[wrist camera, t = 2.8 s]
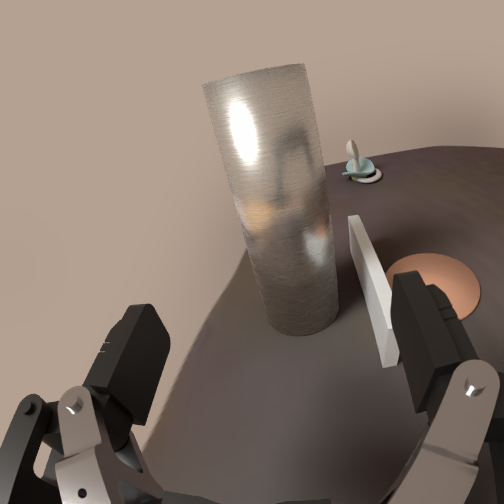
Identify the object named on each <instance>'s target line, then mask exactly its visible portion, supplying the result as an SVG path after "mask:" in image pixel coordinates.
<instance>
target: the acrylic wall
mask: <svg viewBox="0 0 504 504" xmlns="http://www.w3.org/2000/svg"><path fill="white" fill-rule="evenodd" d="M348 223H349V236H350V250H351V255H352V258H353V261H354V264H355V267H356V270H357V274H358V277H359V280H360V284H361V287H362V290H363V294H364V297H365V301H366V304H367V308H368V311H369V315H370V319H371V322H372V326H373V330H374V334H375V338H376V342H377V346H378V350H379V354H380V358H381V362H382V367H383V368H386V367H391V366H396V365H397V362H398V358H399V353H400V352H399V348H398V345H397V342H396V338H395V335H394V332H393V329H392V324H391V317H390V308H391V297H392V291H391V289H390V286H389V284H388V281H387V279H386V276H385V274H384V272H383V269H382V267H381V264H380V262H379V260H378V257H377V255H376V253H375V250H374V248H373V246H372V244H371V241H370V239H369V237H368V235H367V233H366V230H365V228H364V226H363V224H362V222H361V220H360V218H359V216H358V215H354V216H348Z"/></svg>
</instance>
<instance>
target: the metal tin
mask: <svg viewBox="0 0 504 504" xmlns="http://www.w3.org/2000/svg"><path fill="white" fill-rule="evenodd" d="M202 88H203V92H204V95H205V99H206V102H207V106H208V109H209V113H210V117H211V120H212V124H213V128H214V131H215V135H216V138H217V142H218V146H219V149H220V153H221V156H222V160H223V164H224V167H225V171H226V174H227V178H228V181H229V185H230V189H231V192H232V196H233V199H234V202H235V206H236V210H237V213H238V217H239V221H240V224H241V228H242V231H243V235H244V238H245V242H246V245H247V249H248V252H249V256H250V260H251V263H252V267H253V270H254V274H255V277H256V281H257V284H258V288H259V291H260V295H261V298H262V302H263V305H264V309H265V312H266V316H267V319H268V322H269V323H270V325H271V326H272V327H273V328H274V329H275V330H277V331H278V332H280V333H283V334H286V335H290V336H305V335H310V334H314V333H317V332H319V331H321V330H323V329H325V328H326V327H327V326H329V325H330V324H331V323H332V322H333V321H334V319H335V318H336V316H337V314H338V310H339V300H338V286H337V273H336V261H335V251H334V241H333V231H332V223H331V214H330V206H329V198H328V191H327V184H326V177H325V170H324V164H323V157H322V151H321V145H320V139H319V133H318V128H317V122H316V117H315V112H314V107H313V102H312V97H311V92H310V87H309V83H308V78H307V73H306V69H305V65H304V63H302V64H291V65H285V66H278V67H272V68H266V69H261V70H256V71H251V72H247V73H242V74H238V75H234V76H230V77H227V78H223V79H219V80H216V81H212V82H209V83H206V84H203V85H202Z"/></svg>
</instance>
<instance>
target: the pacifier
mask: <svg viewBox="0 0 504 504" xmlns="http://www.w3.org/2000/svg"><path fill="white" fill-rule="evenodd" d="M346 148H347V152H348V154H349V156H350V157H351V158H352V159H351V160H350V161H349V162H348V163H347V166H346V168H347V171H348V172H345V173H342V175H345V176H351V177H352V180H354V181H359V182H362V183H372V182H375V181H377V180H379V179H380V178H381V175H382V173H381V171H380V170H379V169H377V168H374V165H373V163H372V162H371V161H370V160H368V159H366V158H363V157H359V153H358V149H357V146H356V144H355V143H354V141H353V140H350V141H348V143H347V146H346ZM352 165H353V167H352ZM373 172H374V173H376V175H375V176H373V177H371V178H367V175H369V174H372V173H373Z"/></svg>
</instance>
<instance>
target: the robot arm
mask: <svg viewBox="0 0 504 504" xmlns="http://www.w3.org/2000/svg"><path fill="white" fill-rule="evenodd" d="M390 317H391V324H392V329H393V332H394V335H395V338H396V342H397V345H398V348H399V352H400V355H401V358H402V362H403V365H404V369H405V373H406V376H407V380H408V384H409V388H410V392H411V396H412V400H413V404H414V408H415V412H416V413H420V412H424V411H427V415H428V419H429V421H428V423H427V425H426V427H425V429H424V431H423V433H422V435H421V437H420V439H419V441H418V442H417V444H416V446H415V448H414V450H413V452H412V453H411V455H410V457H409V459H408V461H407V462H406V464H405V466H404V467H403V469H402V471H401V472H400V474H399V475H398V477H397V478H396V480H395V481H394V483H393V484H392V486H391V487H390V488H389V490H388V491H387V493H386V494H385V496H384V497H383V499H382V500H381V501H380V503H379V504H464V502H465V500H466V498H467V496H468V494H469V492H470V490H471V488H472V486H473V483H474V481H475V479H476V476H477V473H478V469H479V465H478V463H477V457H478V454H479V452H480V449H481V447H482V444H483V442H489V446H490V451H491V456H492V462H493V468H494V475H495V483H496V491H497V501H498V504H504V373H499V372H496V370H495V369H494V368H493V367H492V366H491V365H490V364H488V363H487V362H484V361H481V360H479V358H478V357H477V355H476V352H475V350H474V348H473V346H472V344H471V342H470V339H469V337H468V335H467V333H466V331H465V329H464V327H463V325H462V323H461V321H460V319H458V315H457V313H456V311H455V310H454V308H452V304H451V302H450V300H449V298H448V297H447V295H446V293H445V292H443V291H442V290H441V289H440V288H439V287H437V286H436V285H435V284H430V285H426V284H425V283H424V281H423V279H422V277H421V275H420V273H419V272H418V271H417V270H415V271H409V272H403V273H397V274H394V276H393V285H392V297H391V308H390ZM169 351H170V337H169V334H168V332H167V330H166V329H165V327H164V325H163V323H162V321H161V319H160V318H159V316H158V314H157V312H156V310H155V308H154V307H153V306H152V305H151V304H139V305H130V306H129V307H128V309H127V310H126V313H125V314H124V316H123V318H122V320H120V321H119V322H118V323H117V324H116V325H115V326H114V327H113V328H112V329H111V330H110V332H109V334H108V336H107V338H106V339H105V343H103V345H102V347H101V349H100V353H98V355H97V357H96V359H95V361H94V363H93V365H92V367H91V369H90V371H89V373H88V375H87V377H86V379H85V381H84V383H83V385H82V386H76V387H73V388H71V389H69V390H68V391H66V392H65V393H64V395H63V396H62V397H61V399H60V401H56V402H49V403H46V402H45V401H44V400H43V399H42V398H41V397H40V396H39V395H37V394H30V395H28V396H26V397H25V398H24V399H23V400H22V401H21V402H20V404H19V406H18V408H17V410H16V413H15V414H14V417H13V419H12V421H11V424H10V426H9V428H8V431H7V433H6V435H5V438H4V441H3V443H2V446H1V448H0V504H219V503H216V502H213V501H211V500H208V499H205V498H203V497H199V496H192V495H185V494H179V493H174V492H168V491H164V490H163V489H162V488H161V486H160V485H159V484H158V483H157V482H156V481H155V480H154V479H153V477H152V476H151V474H150V472H149V470H148V467H147V465H146V463H145V461H144V458H143V456H142V453H141V451H140V449H139V446H138V444H137V441H136V439H135V436H134V434H133V433H132V431H131V427H132V424H136V425H142V426H145V424H146V421H147V418H148V414H149V411H150V408H151V405H152V402H153V399H154V396H155V393H156V390H157V386H158V383H159V380H160V377H161V374H162V371H163V368H164V365H165V362H166V359H167V356H168V354H169ZM42 441H43V442H44V443H45V444H47V445H48V446H50V447H51V448H52V450H51V453H50V456H49V459H48V462H47V465H46V468H45V471H44V475H43V477H42V478H38V477H37V476H36V475H35V473H34V470H33V465H34V462H35V459H36V456H37V453H38V450H39V447H40V445H41V442H42ZM277 504H331V499H322V500H308V501H286V502H282V503H277Z"/></svg>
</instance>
